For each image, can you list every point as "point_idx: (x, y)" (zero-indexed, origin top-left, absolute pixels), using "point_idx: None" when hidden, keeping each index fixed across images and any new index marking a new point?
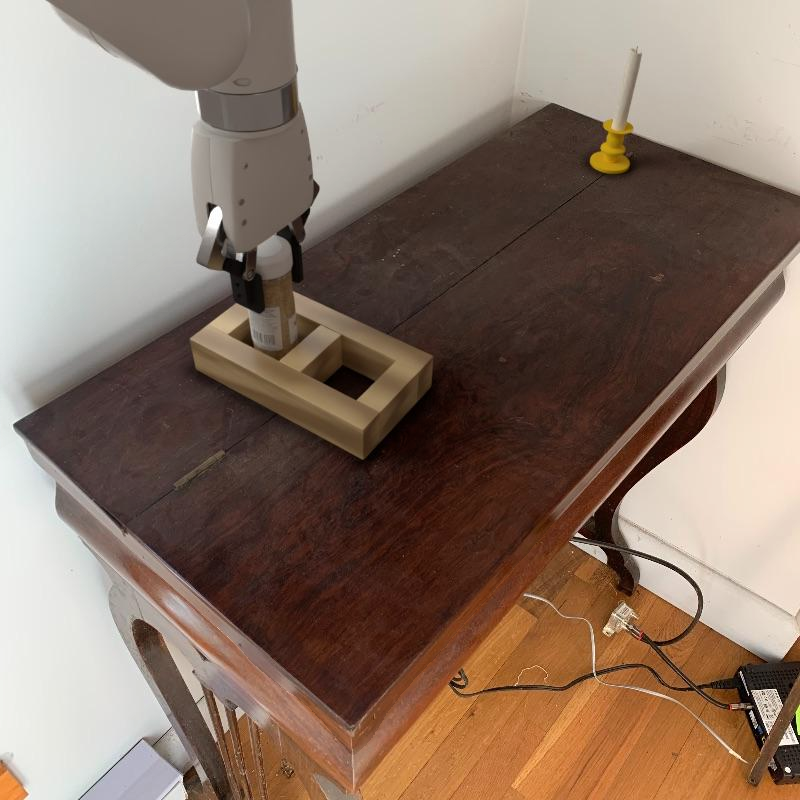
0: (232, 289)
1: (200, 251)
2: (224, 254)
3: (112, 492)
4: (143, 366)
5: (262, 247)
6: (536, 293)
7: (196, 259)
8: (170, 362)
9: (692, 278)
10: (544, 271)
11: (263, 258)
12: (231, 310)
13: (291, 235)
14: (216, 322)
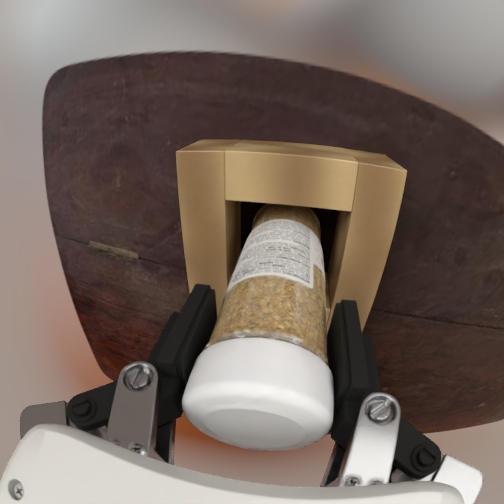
0: (162, 331)
1: (23, 436)
2: (99, 427)
3: (56, 203)
4: (163, 74)
5: (249, 427)
6: (469, 373)
7: (21, 415)
8: (191, 97)
9: (479, 413)
10: (494, 365)
11: (213, 433)
12: (286, 162)
13: (340, 443)
14: (239, 160)
